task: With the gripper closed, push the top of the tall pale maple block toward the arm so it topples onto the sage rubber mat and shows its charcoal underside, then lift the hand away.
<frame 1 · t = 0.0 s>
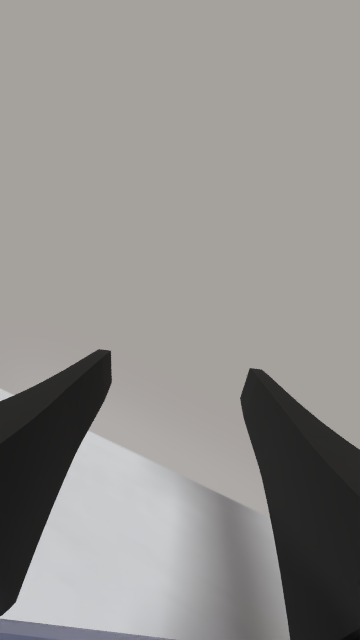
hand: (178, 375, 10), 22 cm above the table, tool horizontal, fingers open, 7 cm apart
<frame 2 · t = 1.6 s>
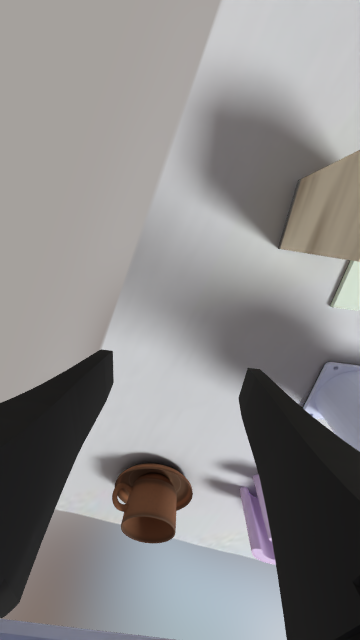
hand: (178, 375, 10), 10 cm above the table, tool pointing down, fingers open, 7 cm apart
cup and saucer: (155, 476, 32), on the table
clip: (297, 497, 33), on the table
maple block: (317, 220, 16), on the table
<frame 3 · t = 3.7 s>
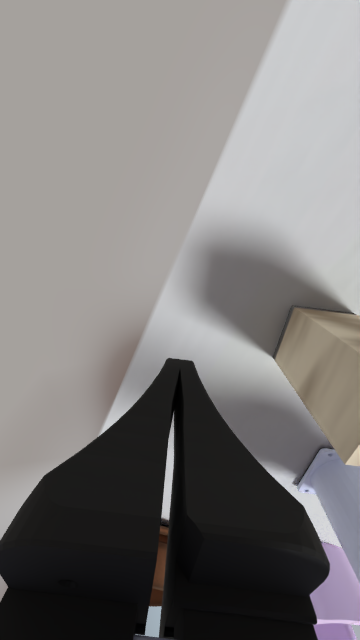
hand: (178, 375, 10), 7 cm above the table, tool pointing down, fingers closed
cup and saucer: (155, 532, 33), on the table
clip: (293, 552, 33), on the table
maple block: (310, 336, 17), on the table
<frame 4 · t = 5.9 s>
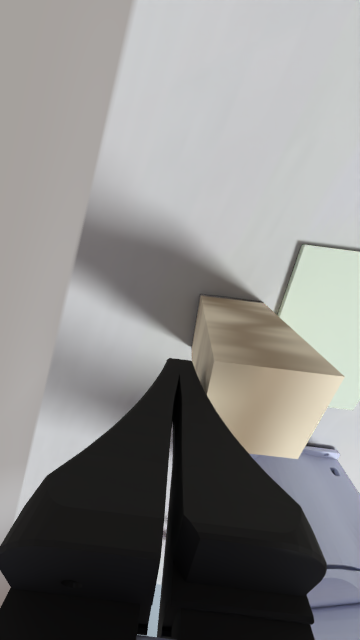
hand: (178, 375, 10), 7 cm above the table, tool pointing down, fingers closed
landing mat: (330, 339, 17), on the table
maple block: (224, 326, 17), on the table, touching gripper
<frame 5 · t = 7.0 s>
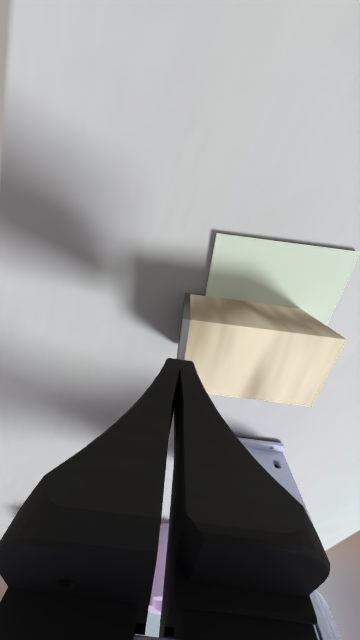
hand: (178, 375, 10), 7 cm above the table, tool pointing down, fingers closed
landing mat: (258, 330, 17), on the table
clip: (211, 541, 33), on the table
maple block: (179, 337, 14), point 3 cm above the table, tilted 90°, touching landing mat
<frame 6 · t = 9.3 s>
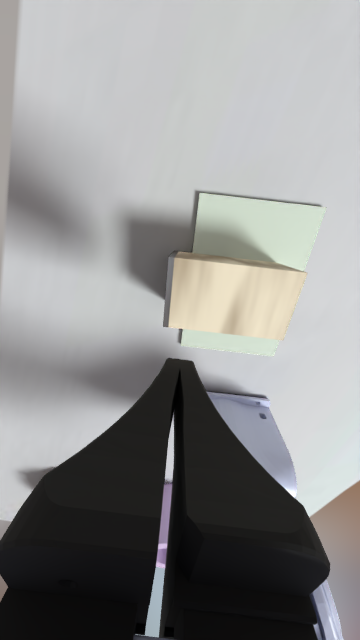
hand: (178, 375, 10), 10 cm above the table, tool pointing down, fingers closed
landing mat: (241, 286, 19), on the table
clip: (207, 505, 35), on the table
maple block: (169, 285, 16), point 3 cm above the table, tilted 90°, touching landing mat
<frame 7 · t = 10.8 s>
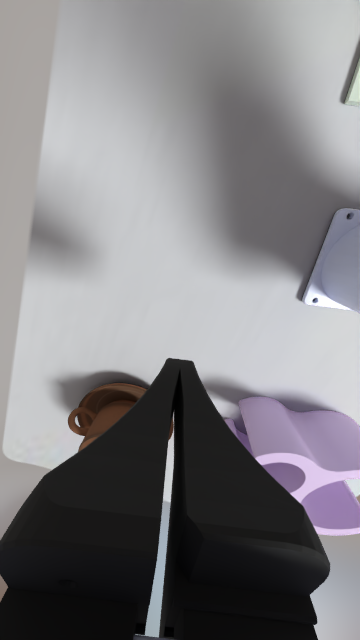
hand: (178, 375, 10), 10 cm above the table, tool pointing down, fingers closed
cup and saucer: (130, 409, 26), on the table
clip: (293, 434, 27), on the table
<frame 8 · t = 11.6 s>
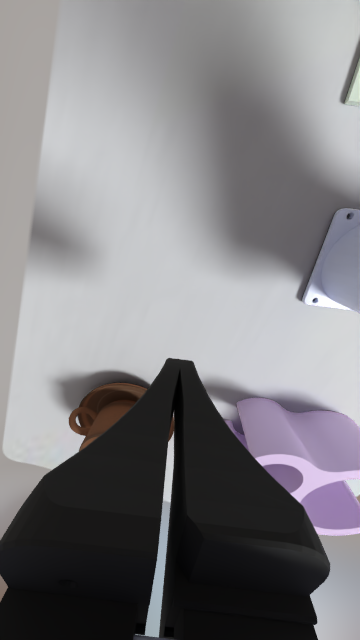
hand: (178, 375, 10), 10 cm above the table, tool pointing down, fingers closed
cup and saucer: (130, 409, 26), on the table
clip: (292, 435, 27), on the table
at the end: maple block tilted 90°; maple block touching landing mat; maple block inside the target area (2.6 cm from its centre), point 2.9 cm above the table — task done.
